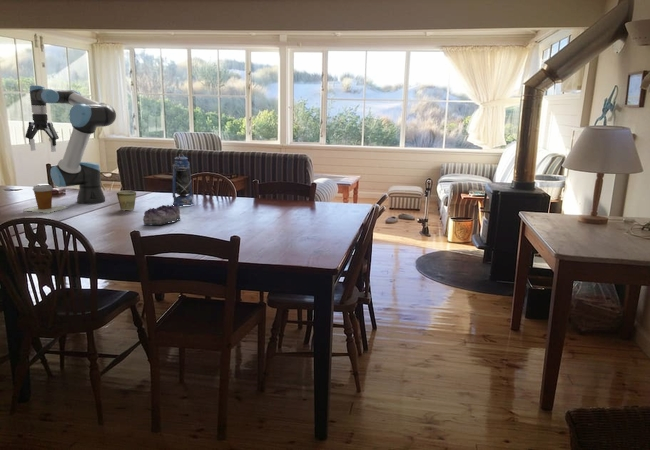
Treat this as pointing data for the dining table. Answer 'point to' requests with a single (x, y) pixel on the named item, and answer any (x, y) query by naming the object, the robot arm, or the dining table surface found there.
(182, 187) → the lantern
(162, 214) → the geode
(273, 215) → the dining table surface
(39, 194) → the disposable coffee cup
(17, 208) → the dining table surface
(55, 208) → the sage placemat
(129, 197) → the yellow green plant pot
